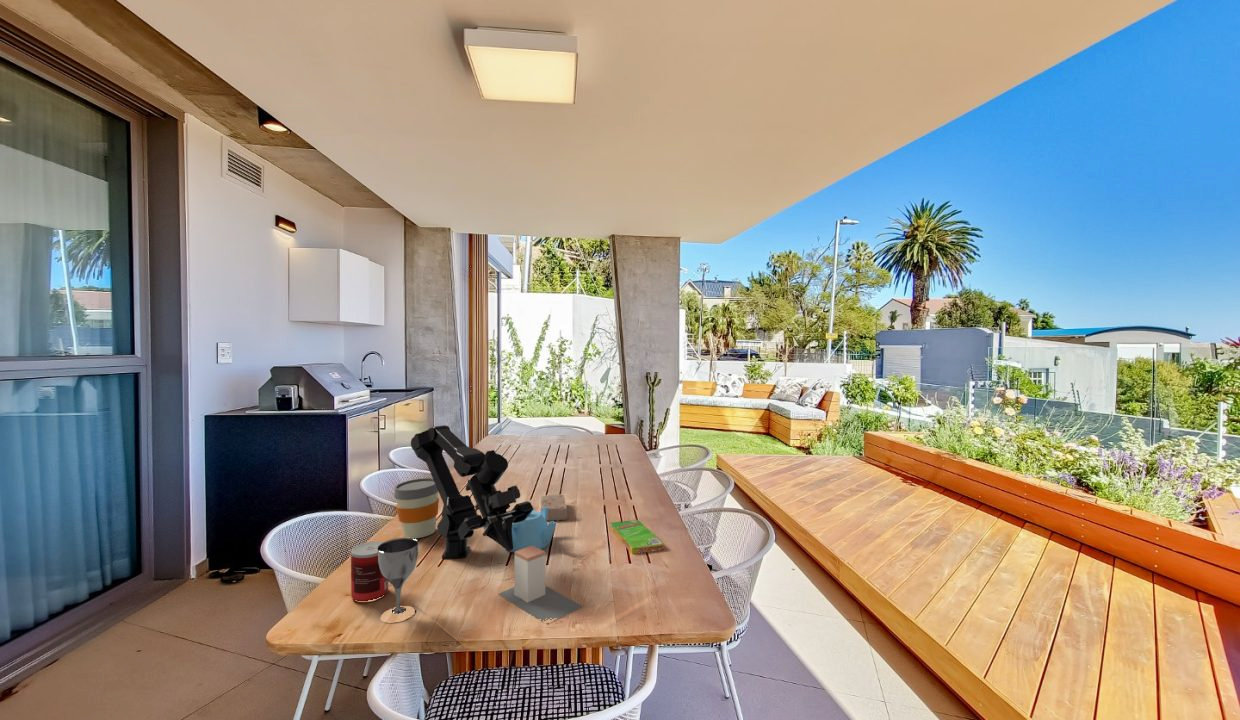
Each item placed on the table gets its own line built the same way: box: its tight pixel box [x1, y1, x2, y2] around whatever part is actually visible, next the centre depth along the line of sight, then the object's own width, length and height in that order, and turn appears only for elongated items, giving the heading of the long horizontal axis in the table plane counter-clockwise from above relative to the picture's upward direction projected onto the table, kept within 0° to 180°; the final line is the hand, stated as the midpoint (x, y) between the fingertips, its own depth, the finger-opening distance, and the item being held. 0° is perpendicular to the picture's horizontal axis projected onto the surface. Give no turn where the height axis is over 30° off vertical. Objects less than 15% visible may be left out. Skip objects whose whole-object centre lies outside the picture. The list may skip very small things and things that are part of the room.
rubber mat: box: [498, 585, 584, 622], centre depth 110 cm, size 18×10×1 cm, turn 47°
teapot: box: [509, 507, 557, 554], centre depth 142 cm, size 15×15×11 cm
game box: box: [609, 519, 665, 555], centre depth 148 cm, size 3×10×20 cm
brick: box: [540, 493, 568, 522], centre depth 169 cm, size 17×8×5 cm, turn 11°
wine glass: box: [377, 537, 419, 614], centre depth 105 cm, size 8×8×15 cm
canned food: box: [350, 540, 389, 601], centre depth 113 cm, size 8×8×11 cm
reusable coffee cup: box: [394, 477, 440, 539], centre depth 149 cm, size 13×13×15 cm
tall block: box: [513, 545, 547, 603], centre depth 112 cm, size 5×5×10 cm
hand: (511, 550), depth 118 cm, fingers closed
